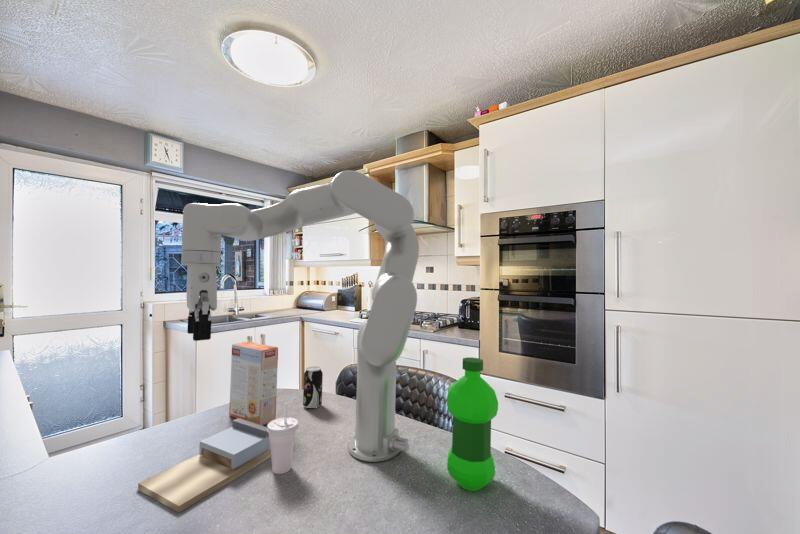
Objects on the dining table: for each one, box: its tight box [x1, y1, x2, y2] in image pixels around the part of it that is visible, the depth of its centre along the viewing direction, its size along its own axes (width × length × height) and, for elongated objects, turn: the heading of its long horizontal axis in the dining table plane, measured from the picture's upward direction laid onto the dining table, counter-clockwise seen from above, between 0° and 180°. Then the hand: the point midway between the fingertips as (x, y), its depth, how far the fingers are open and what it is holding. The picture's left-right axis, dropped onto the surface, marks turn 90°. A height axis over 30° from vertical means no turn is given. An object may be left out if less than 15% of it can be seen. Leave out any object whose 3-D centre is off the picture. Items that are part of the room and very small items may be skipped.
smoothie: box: [266, 402, 299, 475], centre depth 71 cm, size 6×6×14 cm
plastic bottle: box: [446, 356, 499, 492], centre depth 68 cm, size 10×10×25 cm
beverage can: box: [302, 366, 324, 409], centre depth 105 cm, size 6×6×12 cm
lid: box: [198, 418, 270, 469], centre depth 75 cm, size 11×10×4 cm
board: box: [137, 449, 271, 514], centre depth 71 cm, size 13×23×3 cm, turn 153°
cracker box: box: [228, 341, 279, 426], centre depth 96 cm, size 14×6×21 cm, turn 58°
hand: (198, 336), depth 74 cm, fingers open, 9 cm apart
